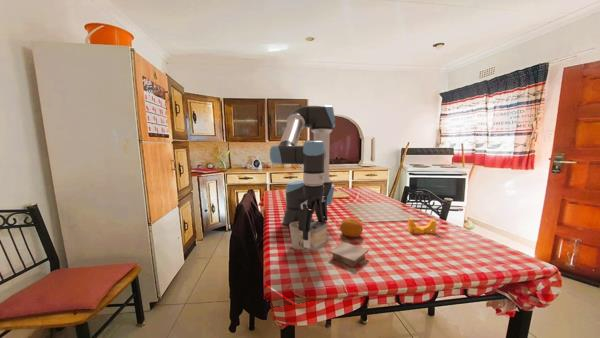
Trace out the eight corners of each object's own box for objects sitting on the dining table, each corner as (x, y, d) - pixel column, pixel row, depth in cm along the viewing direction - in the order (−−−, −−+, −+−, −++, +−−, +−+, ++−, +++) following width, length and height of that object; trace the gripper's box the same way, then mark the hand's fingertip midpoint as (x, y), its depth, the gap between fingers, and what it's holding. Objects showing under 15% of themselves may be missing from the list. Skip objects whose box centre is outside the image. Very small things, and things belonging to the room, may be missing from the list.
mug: (294, 252, 92) (294, 229, 91) (282, 241, 103) (282, 220, 102) (312, 248, 96) (312, 225, 95) (298, 237, 107) (298, 217, 106)
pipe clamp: (409, 233, 112) (410, 220, 112) (407, 229, 116) (408, 217, 116) (436, 235, 109) (437, 222, 108) (433, 232, 113) (434, 219, 113)
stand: (328, 258, 87) (329, 251, 87) (343, 248, 96) (343, 241, 95) (354, 268, 80) (354, 260, 80) (368, 257, 88) (368, 249, 88)
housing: (300, 245, 84) (300, 223, 83) (312, 238, 89) (312, 218, 88) (315, 251, 79) (315, 229, 78) (326, 244, 85) (327, 223, 83)
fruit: (355, 242, 102) (356, 225, 101) (336, 235, 109) (336, 219, 108) (366, 235, 110) (366, 219, 109) (347, 229, 117) (347, 214, 116)
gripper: (303, 190, 71) (303, 257, 74) (337, 181, 86) (336, 237, 89) (286, 187, 76) (287, 250, 79) (321, 178, 91) (321, 232, 94)
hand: (313, 243), depth 84 cm, fingers closed on housing, 7 cm apart
